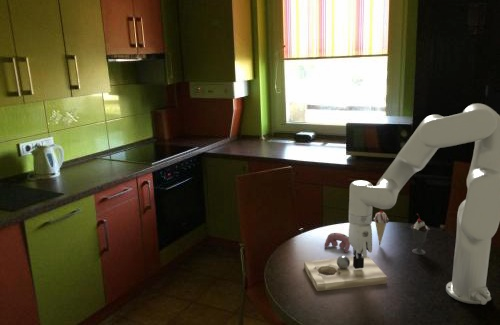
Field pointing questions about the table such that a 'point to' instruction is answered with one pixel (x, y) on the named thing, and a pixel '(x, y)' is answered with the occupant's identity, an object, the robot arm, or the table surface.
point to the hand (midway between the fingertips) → (358, 267)
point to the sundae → (419, 235)
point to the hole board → (343, 274)
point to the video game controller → (334, 237)
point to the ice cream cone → (380, 224)
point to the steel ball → (343, 262)
